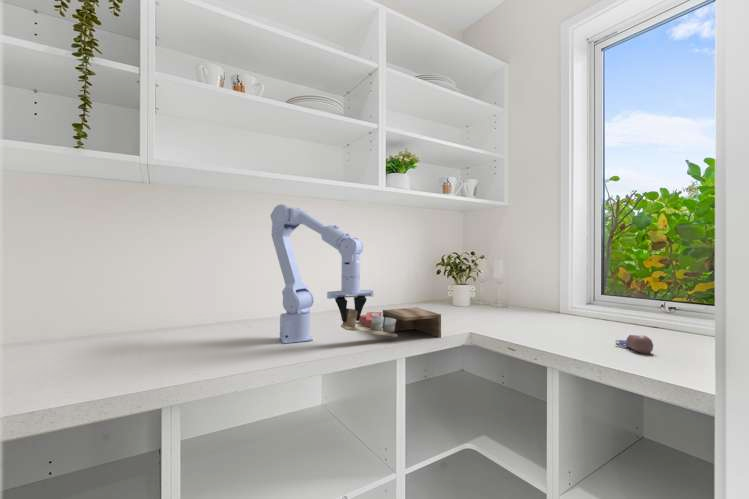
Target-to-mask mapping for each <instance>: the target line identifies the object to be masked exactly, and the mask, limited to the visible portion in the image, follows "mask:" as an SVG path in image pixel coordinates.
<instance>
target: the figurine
mask: <svg viewBox="0 0 749 499" xmlns="http://www.w3.org/2000/svg"><path fill="white" fill-rule="evenodd" d="M614 343H615V344H616V345H625V346H626V347H628V348H630V349H631V350H634V351H636V352H638V353H640V354H642V355H649V354H650V355H651V353H652V352H653V351H654V344H653V341H652V338H649V337H648V336H646V335H633V334H629V335H628V337H627V338H626V339H625V340H623V339H619V340H618V339H615V342H614Z"/></svg>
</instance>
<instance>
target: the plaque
mask: <svg viewBox="0 0 749 499" xmlns="http://www.w3.org/2000/svg"><path fill="white" fill-rule="evenodd" d="M373 315H375V316H380V317H383V311H380V312H379V311H370V312H367V313H366V314H361V315H360V319H359V321H358V323H359V324H362V325H365V328H371V324H372V319H373ZM382 329H383V326H382Z"/></svg>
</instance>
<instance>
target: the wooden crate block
mask: <svg viewBox="0 0 749 499" xmlns="http://www.w3.org/2000/svg"><path fill="white" fill-rule="evenodd" d="M382 312H383V317H384V321H383V328H384V323H385V318H386V317H387V318H393V319H396V324H395V330H394V332H398V331H406V330H418V331H421V332H423V333H426V334H428V335H430V334H431V336H433V337H435V336H436V337H435V338H438V339H440V338H442V314H441V313H438V312H434V311H431V310H427V309H424V308H420V307H405V308H402V307H401V308H391V309H390V308H389V309H382ZM383 328H382V329H383Z"/></svg>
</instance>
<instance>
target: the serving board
mask: <svg viewBox="0 0 749 499" xmlns="http://www.w3.org/2000/svg"><path fill="white" fill-rule="evenodd" d="M357 314H358V311H357V310H355V308H354V309H352V308H346V322H343V321H342V323H341V325H340V327H341V328H342V329H344V330H345V331H352V332H359V333H364V334H365V333H367V334H372V335H373V334H374V335H380V336H381V335H382V336H387V337H394V338H397V337H398V334H397V333H395V331H394V330H395V324H396V319H393V318H387V317H386V318H385V323H384V328H382V326H383V321H384V317H380V316H375V315H373V319H372V324H371V328H369V327H365V326H364V327H363V326H357V325H356V324H357V321H356V319H357Z"/></svg>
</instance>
